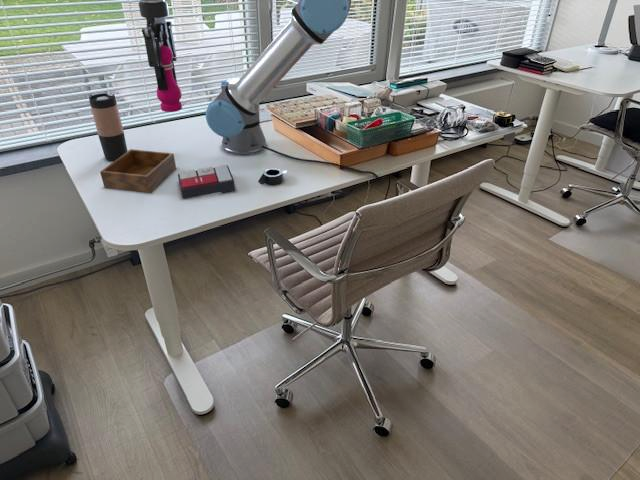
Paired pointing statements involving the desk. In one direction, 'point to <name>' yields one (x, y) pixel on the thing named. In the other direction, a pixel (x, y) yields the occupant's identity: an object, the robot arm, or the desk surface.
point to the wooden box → (138, 171)
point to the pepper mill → (169, 84)
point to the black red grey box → (206, 181)
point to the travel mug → (108, 125)
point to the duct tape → (272, 177)
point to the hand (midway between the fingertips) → (168, 86)
